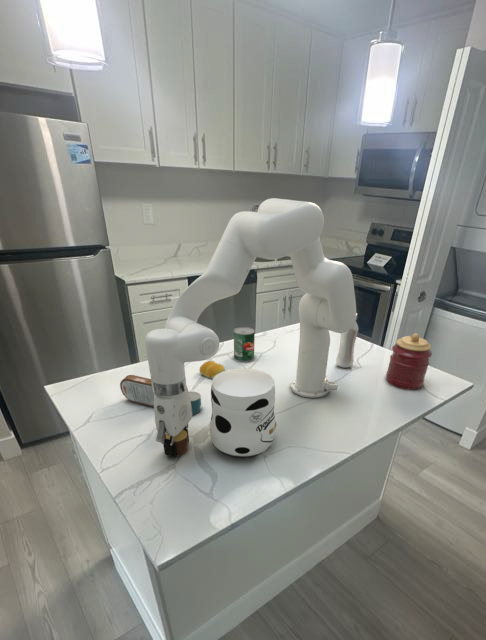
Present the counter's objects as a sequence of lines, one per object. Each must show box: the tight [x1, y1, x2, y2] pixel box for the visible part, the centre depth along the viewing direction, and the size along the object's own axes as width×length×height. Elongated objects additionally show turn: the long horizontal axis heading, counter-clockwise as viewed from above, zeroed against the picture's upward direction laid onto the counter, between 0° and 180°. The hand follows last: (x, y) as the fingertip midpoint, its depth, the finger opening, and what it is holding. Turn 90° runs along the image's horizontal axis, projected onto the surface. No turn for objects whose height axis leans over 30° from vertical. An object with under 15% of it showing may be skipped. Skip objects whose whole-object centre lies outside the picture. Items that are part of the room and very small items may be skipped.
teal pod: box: [189, 391, 202, 415], centre depth 110 cm, size 6×6×5 cm
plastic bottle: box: [335, 312, 360, 369], centre depth 137 cm, size 6×7×20 cm
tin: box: [119, 374, 154, 408], centre depth 111 cm, size 15×3×8 cm, turn 71°
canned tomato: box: [233, 326, 256, 363], centre depth 142 cm, size 8×8×11 cm
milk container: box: [209, 367, 278, 458], centre depth 94 cm, size 17×17×18 cm
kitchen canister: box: [385, 333, 433, 390], centre depth 128 cm, size 13×13×18 cm
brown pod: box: [166, 429, 189, 457], centre depth 94 cm, size 6×6×5 cm
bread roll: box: [199, 360, 226, 379], centre depth 131 cm, size 8×9×4 cm
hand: (177, 447), depth 95 cm, fingers closed on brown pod, 5 cm apart
